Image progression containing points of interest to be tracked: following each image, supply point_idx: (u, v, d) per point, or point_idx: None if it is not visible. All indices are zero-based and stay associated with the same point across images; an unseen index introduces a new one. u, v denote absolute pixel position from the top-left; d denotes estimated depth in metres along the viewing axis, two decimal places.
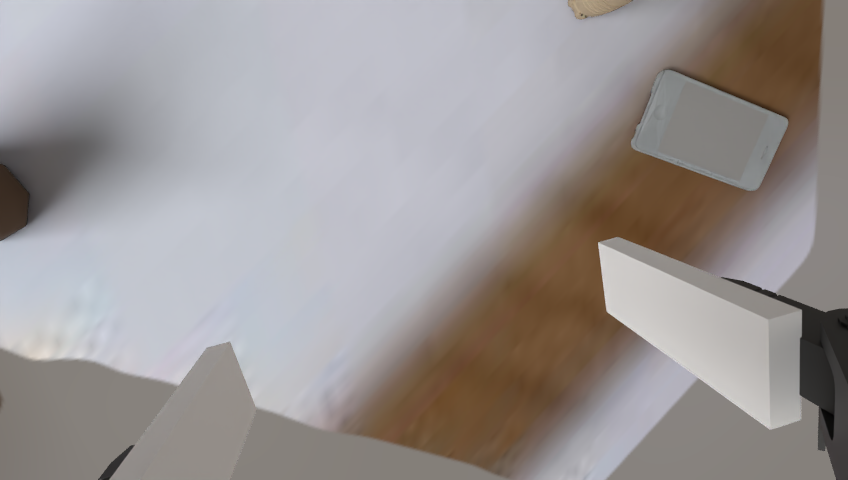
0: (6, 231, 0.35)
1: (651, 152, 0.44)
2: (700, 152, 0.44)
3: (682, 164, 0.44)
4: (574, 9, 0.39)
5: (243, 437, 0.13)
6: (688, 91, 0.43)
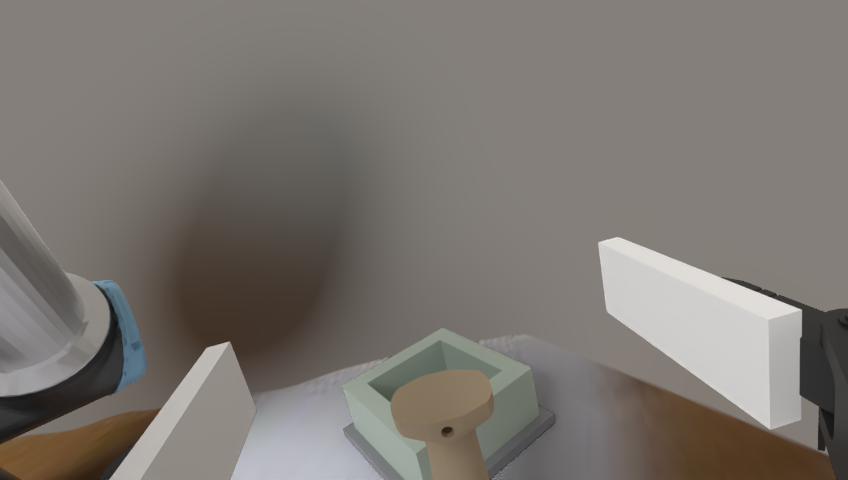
0: None
1: None
2: None
3: None
4: None
5: (243, 437, 0.13)
6: None
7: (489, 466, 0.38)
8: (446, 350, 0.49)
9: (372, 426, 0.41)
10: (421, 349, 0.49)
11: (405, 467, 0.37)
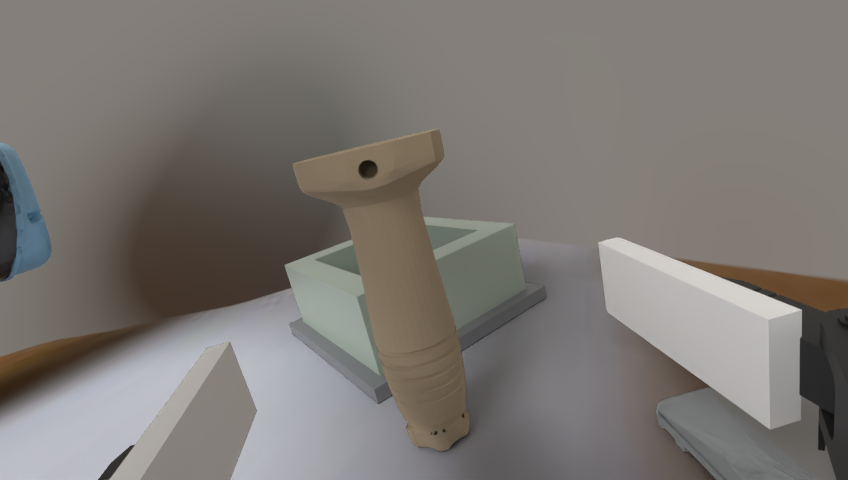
0: None
1: None
2: None
3: None
4: (425, 440, 0.21)
5: (243, 437, 0.13)
6: None
7: (460, 335, 0.29)
8: None
9: (315, 300, 0.33)
10: None
11: (350, 333, 0.29)
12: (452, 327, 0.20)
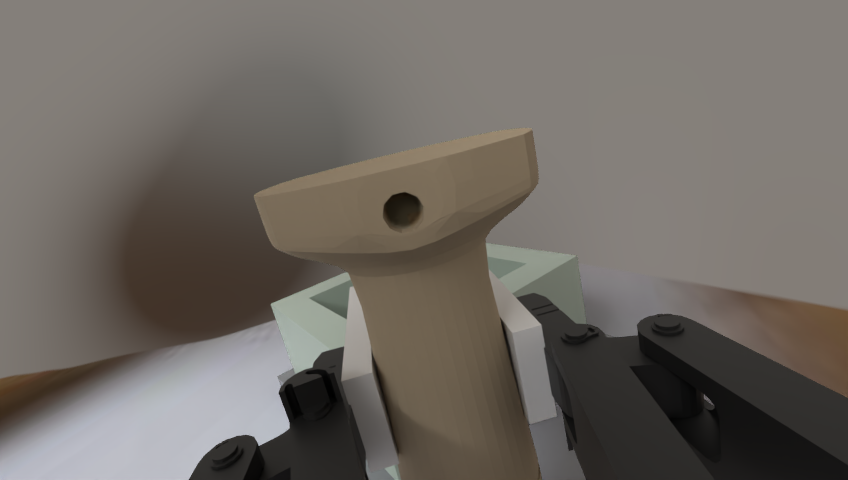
0: None
1: None
2: None
3: None
4: None
5: None
6: None
7: None
8: None
9: (310, 357, 0.24)
10: None
11: None
12: (537, 469, 0.12)
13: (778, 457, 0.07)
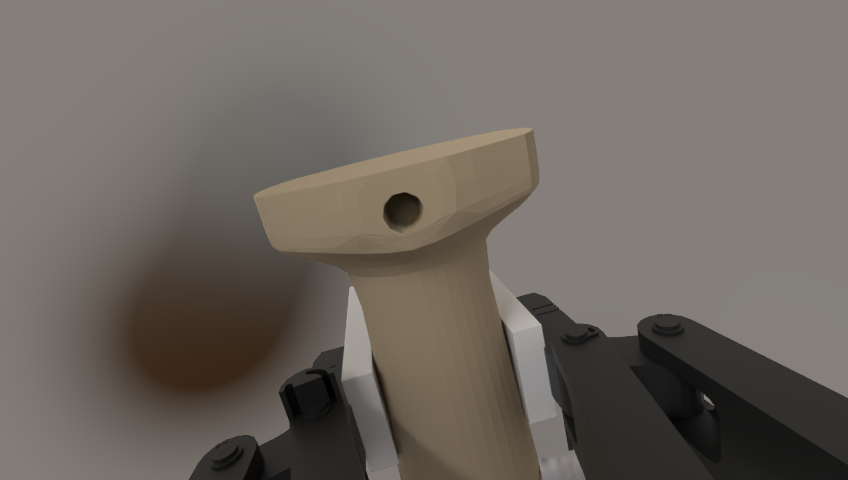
0: None
1: None
2: None
3: None
4: None
5: None
6: None
7: None
8: None
9: None
10: None
11: None
12: (537, 470, 0.12)
13: (778, 457, 0.07)
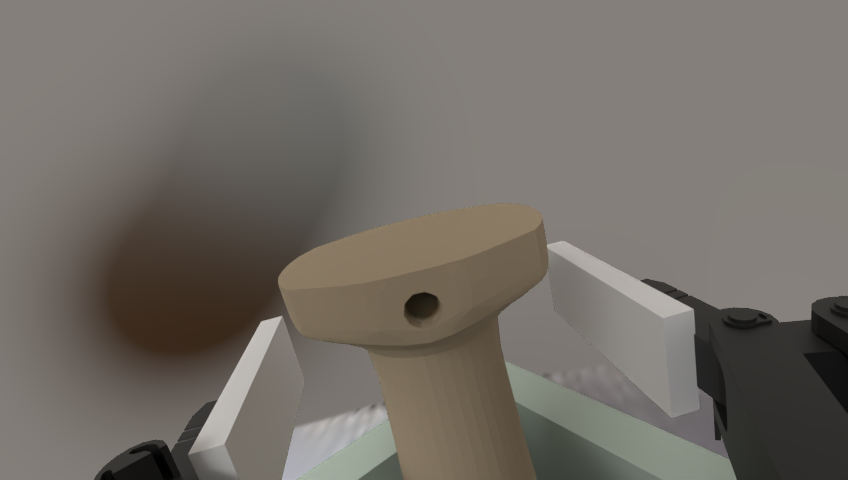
0: None
1: None
2: None
3: None
4: None
5: (297, 402, 0.14)
6: None
7: None
8: None
9: None
10: None
11: None
12: None
13: None
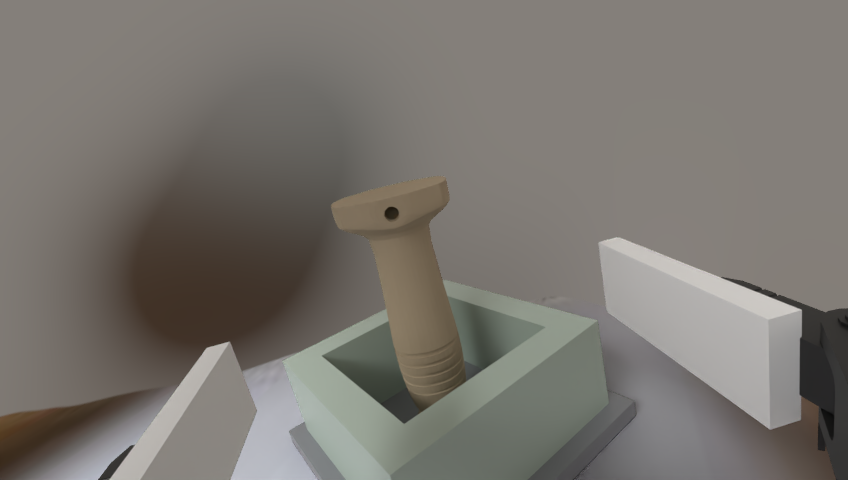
0: None
1: None
2: None
3: None
4: None
5: (243, 437, 0.13)
6: None
7: None
8: None
9: (324, 425, 0.24)
10: None
11: None
12: (455, 333, 0.25)
13: None
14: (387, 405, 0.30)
